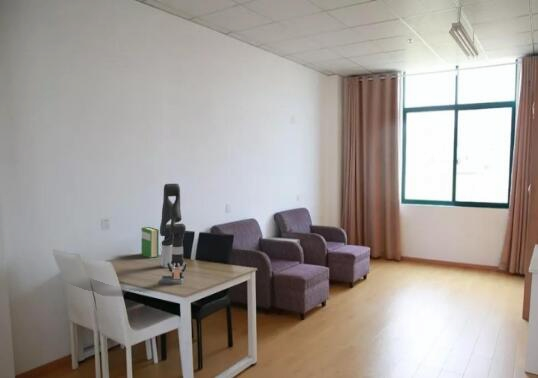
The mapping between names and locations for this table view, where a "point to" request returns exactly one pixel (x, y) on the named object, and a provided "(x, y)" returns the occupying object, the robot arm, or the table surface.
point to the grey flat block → (171, 280)
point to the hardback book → (150, 242)
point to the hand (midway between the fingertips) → (177, 277)
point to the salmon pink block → (176, 273)
